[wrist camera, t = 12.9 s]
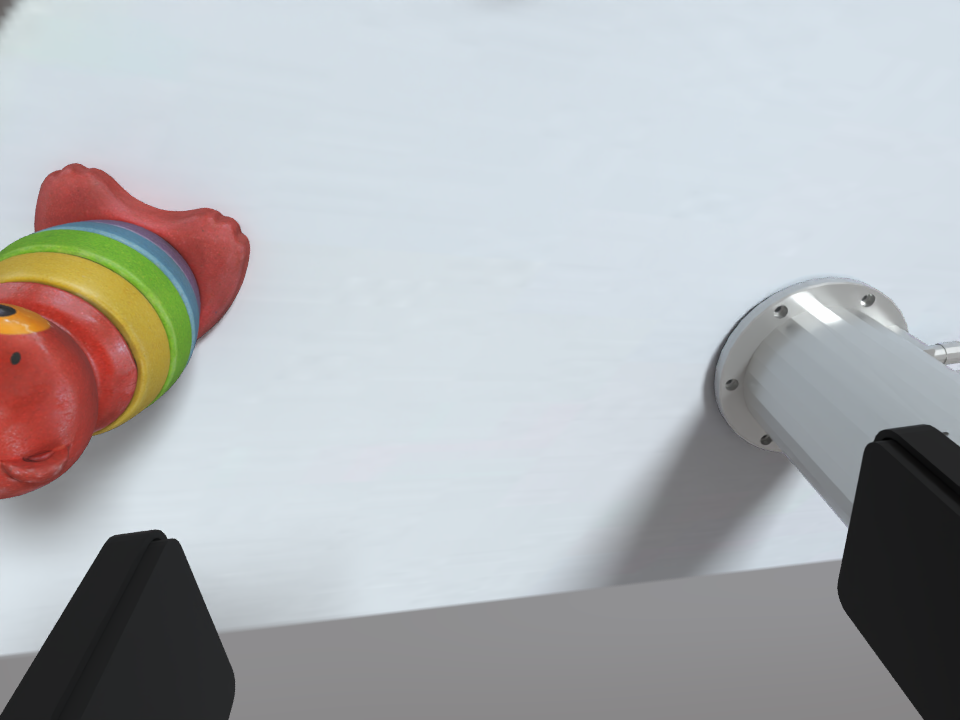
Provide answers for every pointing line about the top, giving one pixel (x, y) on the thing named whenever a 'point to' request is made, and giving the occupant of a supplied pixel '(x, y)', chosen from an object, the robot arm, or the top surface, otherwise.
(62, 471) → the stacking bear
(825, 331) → the robot arm
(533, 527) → the top surface
